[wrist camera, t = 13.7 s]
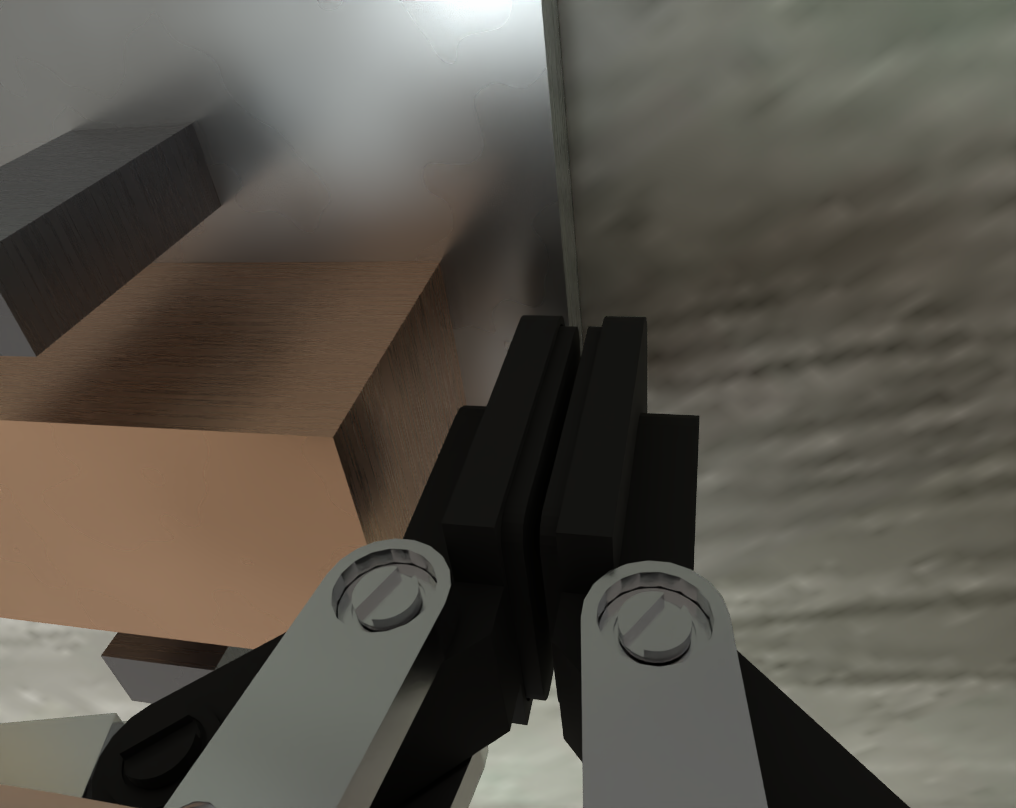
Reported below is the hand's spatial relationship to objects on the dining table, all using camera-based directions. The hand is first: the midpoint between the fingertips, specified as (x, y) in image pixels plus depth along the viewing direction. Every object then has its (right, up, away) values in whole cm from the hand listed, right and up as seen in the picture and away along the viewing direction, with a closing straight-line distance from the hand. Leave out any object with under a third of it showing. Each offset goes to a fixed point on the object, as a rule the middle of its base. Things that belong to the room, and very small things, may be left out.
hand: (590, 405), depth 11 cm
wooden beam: (-11, +1, +4) cm, 11 cm away
